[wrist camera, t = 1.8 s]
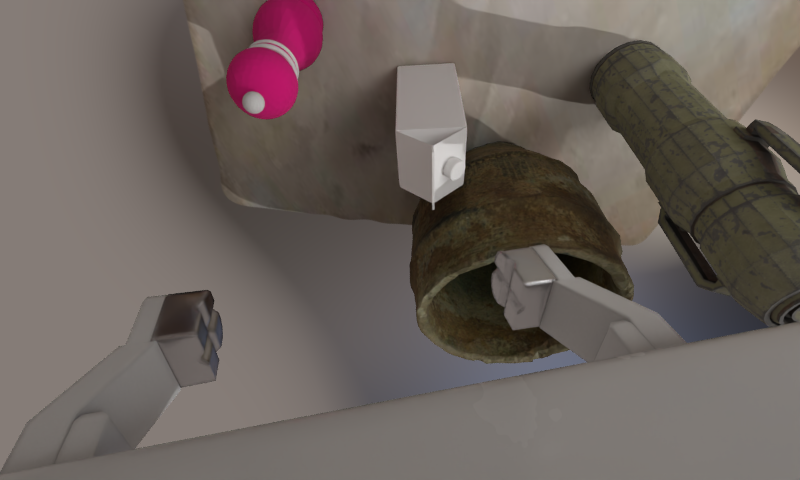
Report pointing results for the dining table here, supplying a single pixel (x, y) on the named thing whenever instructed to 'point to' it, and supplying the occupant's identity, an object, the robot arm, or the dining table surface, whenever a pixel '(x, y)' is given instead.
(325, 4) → the dining table surface
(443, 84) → the milk carton
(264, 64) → the pepper mill
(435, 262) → the clay pot
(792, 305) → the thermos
